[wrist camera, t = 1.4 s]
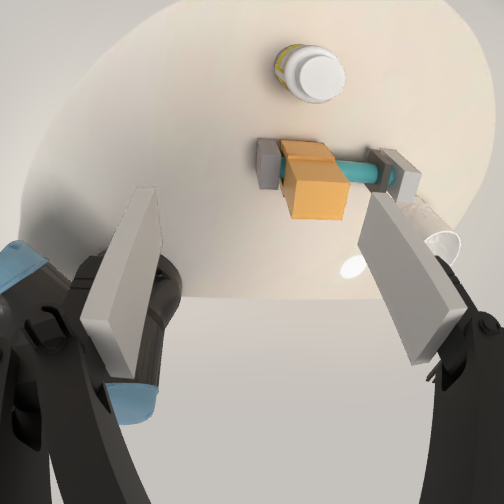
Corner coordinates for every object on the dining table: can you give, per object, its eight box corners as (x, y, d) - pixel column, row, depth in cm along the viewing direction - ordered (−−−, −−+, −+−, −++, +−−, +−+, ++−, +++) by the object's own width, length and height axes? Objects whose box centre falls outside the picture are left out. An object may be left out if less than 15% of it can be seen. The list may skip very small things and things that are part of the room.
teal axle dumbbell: (255, 171, 39) (260, 198, 33) (258, 135, 36) (263, 157, 30) (388, 179, 40) (411, 205, 35) (396, 148, 37) (422, 171, 32)
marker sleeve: (277, 177, 38) (291, 222, 30) (281, 140, 35) (297, 176, 27) (318, 179, 38) (341, 223, 30) (323, 143, 35) (351, 179, 27)
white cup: (410, 240, 47) (438, 282, 39) (373, 228, 45) (400, 273, 37) (435, 200, 43) (470, 239, 35) (399, 183, 41) (434, 223, 33)
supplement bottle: (323, 89, 33) (354, 109, 25) (275, 91, 33) (291, 111, 25) (321, 43, 29) (354, 48, 21) (271, 44, 29) (287, 47, 21)
